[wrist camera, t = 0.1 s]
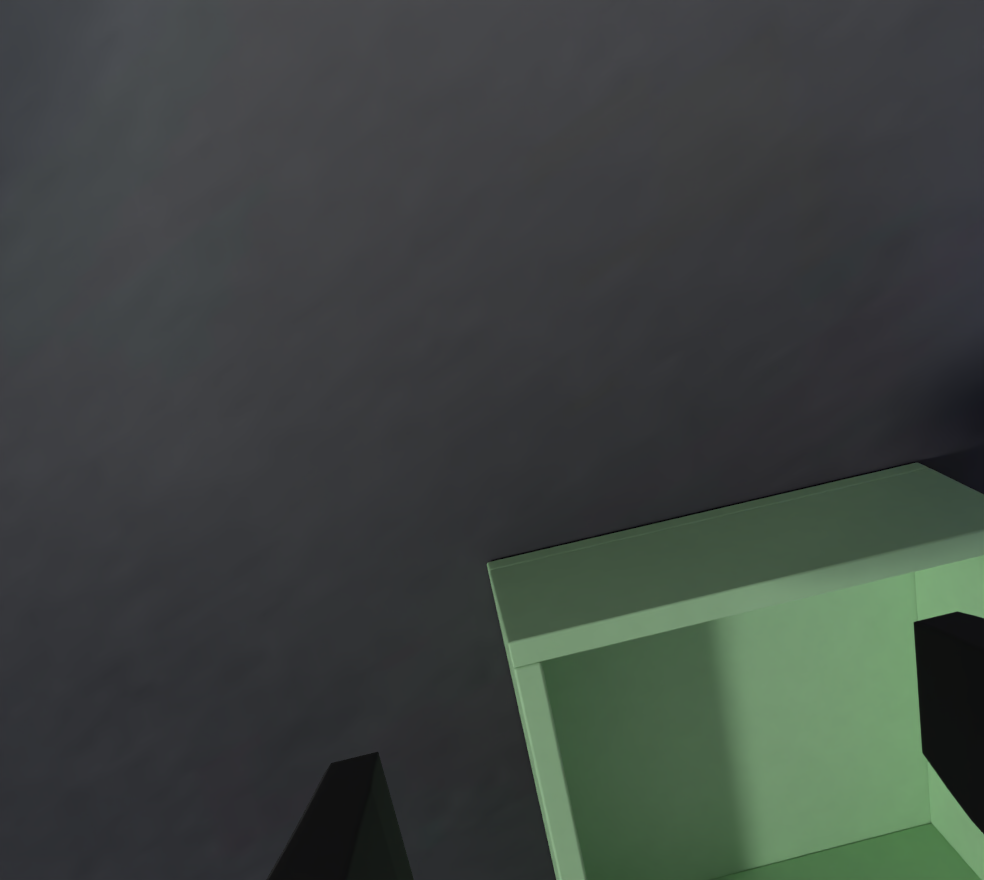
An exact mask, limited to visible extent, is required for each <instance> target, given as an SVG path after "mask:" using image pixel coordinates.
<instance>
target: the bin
mask: <svg viewBox="0 0 984 880" xmlns="http://www.w3.org/2000/svg"><path fill="white" fill-rule="evenodd" d="M487 568H488V572H489V577H490V581H491V586H492V590H493V595H494V599H495V604H496V609H497V613H498V618H499V622H500V627H501V631H502V636H503V640H504V645H505V649H506V654H507V658H508V663H509V667H510V672H511V676H512V681H513V685H514V690H515V695H516V699H517V704H518V708H519V713H520V717H521V722H522V726H523V731H524V735H525V740H526V744H527V749H528V753H529V758H530V762H531V767H532V771H533V776H534V781H535V785H536V790H537V794H538V799H539V803H540V808H541V812H542V817H543V821H544V826H545V830H546V835H547V839H548V844H549V848H550V853H551V857H552V862H553V866H554V871H555V876H556V880H984V834H983V833H982V832H981V831H980V830H979V828H978V827H977V826H976V825H975V824H974V823H973V822H972V821H971V819H970V818H969V817H968V815H967V814H966V813H965V811H964V810H963V809H962V807H961V806H960V805H959V803H958V802H957V801H956V799H955V798H954V797H953V795H952V794H951V793H950V791H949V790H948V789H947V787H946V786H945V784H944V783H943V782H942V780H941V779H940V777H939V776H938V774H937V773H936V772H935V770H934V769H933V767H932V766H931V765H930V763H929V762H928V760H927V759H926V757H925V756H924V755H923V753H922V742H921V727H920V712H919V698H918V683H917V668H916V653H915V638H914V623H913V622H916V621H920V620H924V619H928V618H932V617H936V616H940V615H944V614H949V613H953V612H957V611H958V612H962V613H966V614H970V615H974V616H978V617H981V618H984V494H982V493H980V492H978V491H976V490H974V489H972V488H970V487H967V486H965V485H963V484H961V483H959V482H957V481H955V480H953V479H951V478H949V477H947V476H945V475H943V474H941V473H939V472H937V471H935V470H933V469H931V468H928V467H926V466H924V465H922V464H920V463H912V464H908V465H904V466H900V467H895V468H891V469H887V470H882V471H878V472H874V473H870V474H865V475H861V476H857V477H852V478H848V479H844V480H839V481H835V482H831V483H827V484H822V485H818V486H814V487H809V488H805V489H801V490H797V491H792V492H788V493H784V494H779V495H775V496H771V497H767V498H762V499H758V500H754V501H749V502H745V503H741V504H736V505H732V506H728V507H724V508H719V509H715V510H711V511H706V512H702V513H698V514H694V515H689V516H685V517H681V518H676V519H672V520H668V521H664V522H659V523H655V524H651V525H646V526H642V527H638V528H633V529H629V530H625V531H621V532H616V533H612V534H608V535H603V536H599V537H595V538H591V539H586V540H582V541H578V542H573V543H569V544H565V545H561V546H556V547H552V548H548V549H543V550H539V551H535V552H530V553H526V554H522V555H518V556H513V557H509V558H505V559H500V560H496V561H492V562H488V563H487Z"/></svg>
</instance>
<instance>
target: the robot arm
mask: <svg viewBox="0 0 984 880" xmlns="http://www.w3.org/2000/svg"><path fill="white" fill-rule="evenodd" d="M913 623H914V638H915V653H916V668H917V683H918V698H919V712H920V727H921V742H922V753H923V755H924V756H925V757H926V759H927V760H928V762H929V763H930V765H931V766H932V767H933V769H934V770H935V772H936V773H937V774H938V776H939V777H940V779H941V780H942V782H943V783H944V784H945V786H946V787H947V789H948V790H949V791H950V793H951V794H952V795H953V797H954V798H955V799H956V801H957V802H958V803H959V805H960V806H961V807H962V809H963V810H964V811H965V813H966V814H967V815H968V817H969V818H970V819H971V821H972V822H973V823H974V824H975V825H976V826H977V827H978V828H979V830H980V831H981V832H982V833H983V834H984V618H981V617H978V616H974V615H970V614H966V613H962V612H958V611H957V612H953V613H949V614H944V615H940V616H936V617H932V618H928V619H924V620H920V621H916V622H913ZM267 880H414V879H413V876H412V872H411V868H410V865H409V861H408V858H407V854H406V850H405V847H404V843H403V840H402V836H401V832H400V829H399V825H398V822H397V818H396V814H395V811H394V807H393V804H392V800H391V797H390V793H389V789H388V786H387V782H386V779H385V775H384V771H383V768H382V764H381V761H380V757H379V753H378V752H375V753H371V754H367V755H363V756H359V757H355V758H351V759H347V760H342V761H338V762H334V763H331V764H330V766H329V767H328V769H327V770H326V772H325V773H324V775H323V777H322V779H321V781H320V783H319V785H318V787H317V789H316V791H315V793H314V795H313V796H312V798H311V800H310V802H309V804H308V806H307V808H306V810H305V812H304V814H303V816H302V817H301V819H300V821H299V823H298V825H297V827H296V829H295V830H294V832H293V834H292V836H291V838H290V840H289V841H288V843H287V845H286V847H285V849H284V850H283V852H282V854H281V855H280V857H279V859H278V861H277V862H276V864H275V866H274V868H273V869H272V871H271V873H270V874H269V876H268V878H267Z"/></svg>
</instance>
